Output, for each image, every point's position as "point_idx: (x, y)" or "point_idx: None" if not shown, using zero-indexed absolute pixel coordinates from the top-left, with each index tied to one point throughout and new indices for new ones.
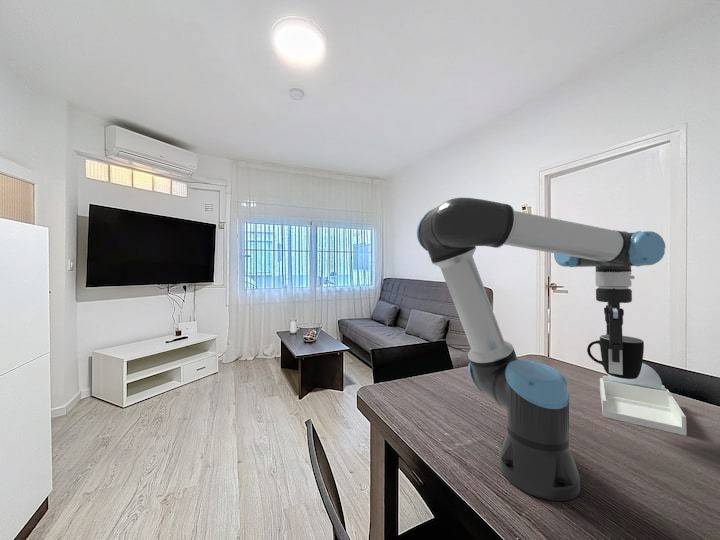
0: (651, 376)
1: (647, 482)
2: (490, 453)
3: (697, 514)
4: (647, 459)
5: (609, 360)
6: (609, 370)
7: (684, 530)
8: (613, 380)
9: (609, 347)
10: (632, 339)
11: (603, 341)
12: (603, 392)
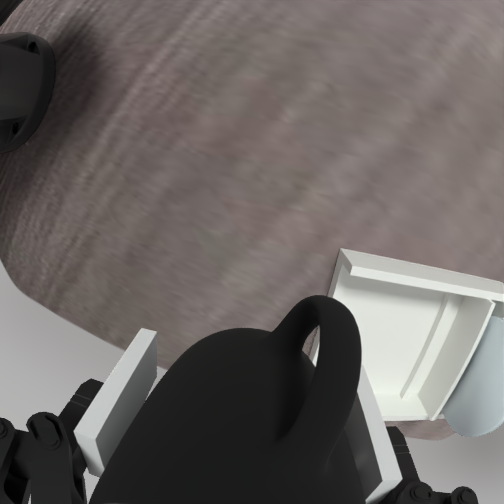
0: (465, 420)
1: (63, 253)
2: (40, 16)
3: (34, 288)
4: (140, 281)
5: (112, 375)
6: (136, 337)
7: (3, 259)
8: (491, 329)
9: (37, 431)
10: None
11: (145, 477)
12: (424, 284)
